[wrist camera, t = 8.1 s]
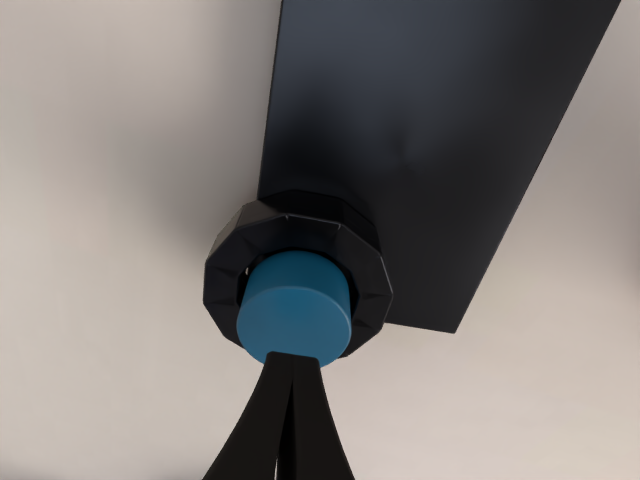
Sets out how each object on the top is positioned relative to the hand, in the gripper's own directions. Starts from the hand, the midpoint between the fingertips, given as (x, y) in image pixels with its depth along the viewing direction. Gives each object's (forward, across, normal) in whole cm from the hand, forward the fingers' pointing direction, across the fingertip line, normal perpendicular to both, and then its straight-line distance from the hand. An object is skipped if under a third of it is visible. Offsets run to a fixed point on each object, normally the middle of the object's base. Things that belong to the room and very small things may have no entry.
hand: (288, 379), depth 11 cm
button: (+4, 0, 0) cm, 4 cm away
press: (+7, -2, -5) cm, 9 cm away
